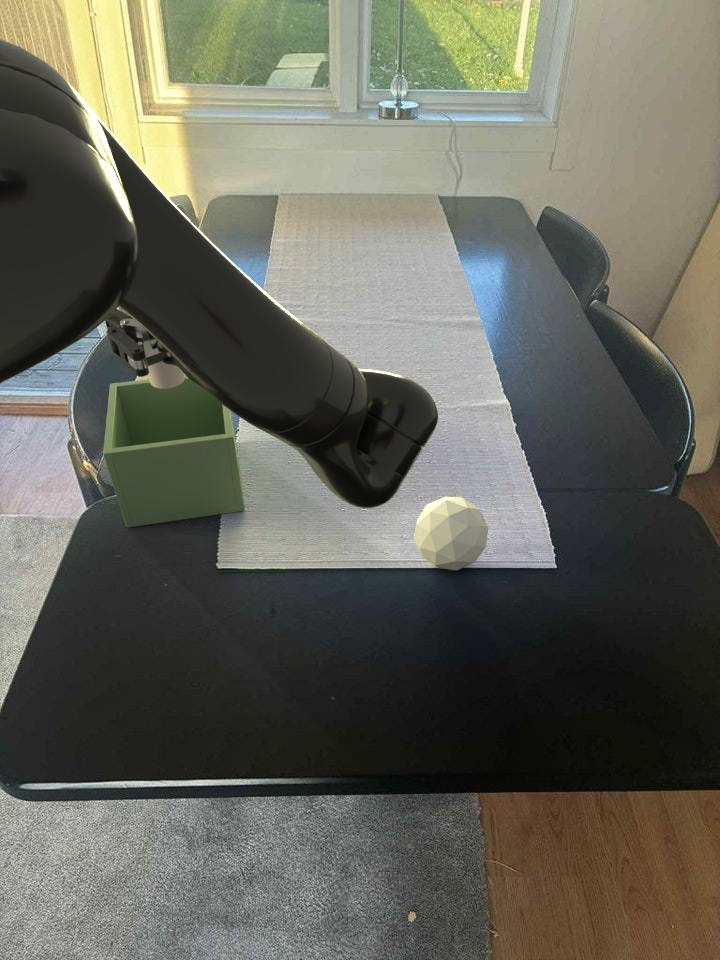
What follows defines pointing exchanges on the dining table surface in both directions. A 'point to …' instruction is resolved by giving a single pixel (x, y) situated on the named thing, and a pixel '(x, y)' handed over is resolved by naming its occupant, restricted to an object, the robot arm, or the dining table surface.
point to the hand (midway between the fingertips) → (139, 304)
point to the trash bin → (170, 453)
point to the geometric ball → (451, 533)
